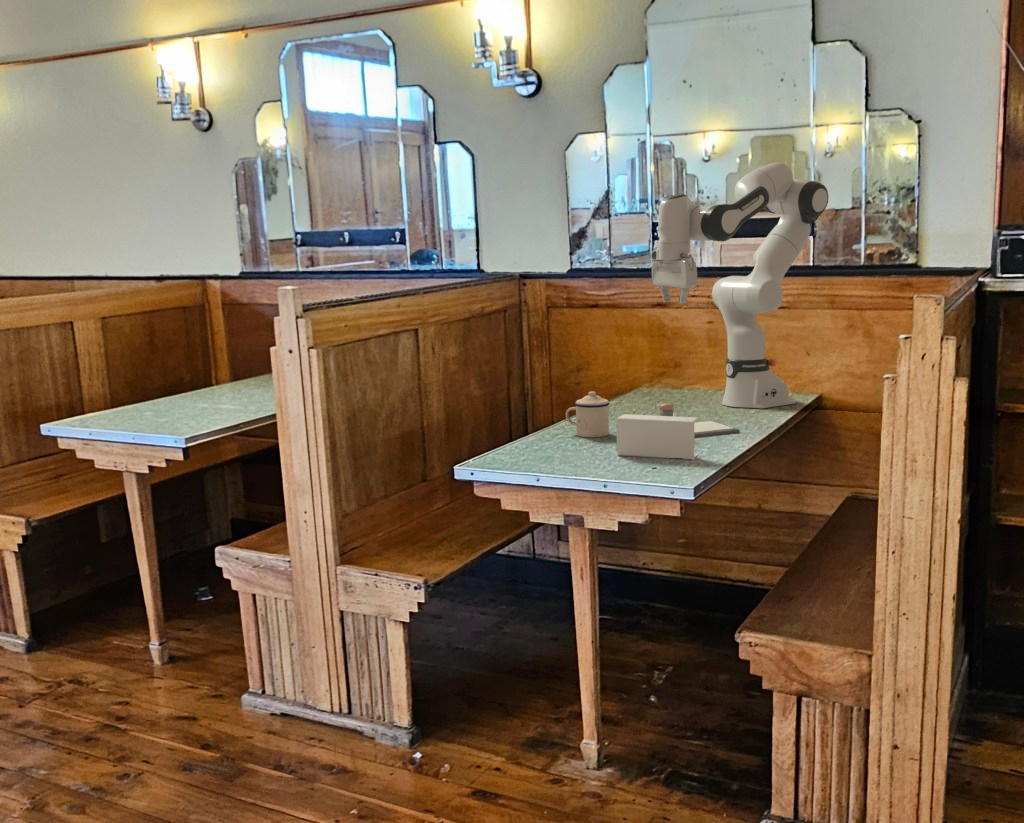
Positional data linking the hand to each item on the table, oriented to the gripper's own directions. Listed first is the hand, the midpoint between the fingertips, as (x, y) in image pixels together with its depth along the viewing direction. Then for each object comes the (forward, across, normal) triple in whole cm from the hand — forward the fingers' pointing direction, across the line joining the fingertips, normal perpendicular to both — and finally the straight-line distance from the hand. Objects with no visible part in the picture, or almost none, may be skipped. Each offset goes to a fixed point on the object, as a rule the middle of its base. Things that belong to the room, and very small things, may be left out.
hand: (674, 302), depth 296 cm
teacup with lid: (+33, -10, +32) cm, 47 cm away
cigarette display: (+34, -42, +28) cm, 60 cm away
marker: (+32, -23, +15) cm, 42 cm away
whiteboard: (+33, -20, +8) cm, 39 cm away
